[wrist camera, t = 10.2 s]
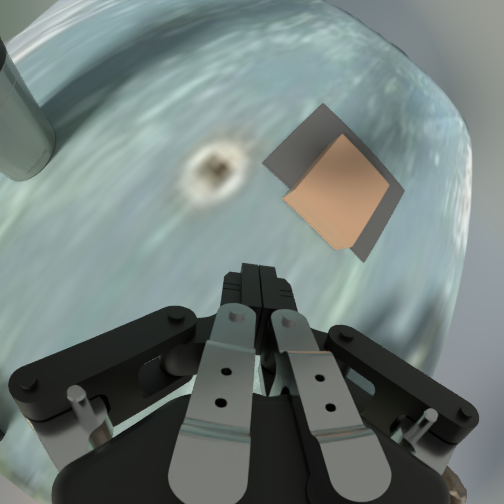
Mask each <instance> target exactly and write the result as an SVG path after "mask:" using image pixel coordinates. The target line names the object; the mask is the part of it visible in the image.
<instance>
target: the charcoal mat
mask: <svg viewBox="0 0 504 504" xmlns="http://www.w3.org/2000/svg"><path fill="white" fill-rule="evenodd" d="M341 134H343V135H344V136H345V137H346V138H347V139H348V140H349V141H350V142H351V143H352V144H353V145H354V146H355V147H356V148H357V149H358V150H359V151H360V152H361V153H362V154H363V155H364V156H365V158H366V159H367V160H368V161H369V162H370V163H371V164H372V165H373V166H374V167H375V169H376V170H377V171H378V172H379V173H380V174H381V175H382V177H383V178H384V179H385V180H386V181H387V182H388V184H389V187H388V189H387V190H386V192H385V194H384V196H383V197H382V199H381V201H380V202H379V204H378V206H377V207H376V209H375V211H374V212H373V214H372V216H371V217H370V219H369V221H368V222H367V224H366V226H365V227H364V229H363V230H362V232H361V234H360V235H359V237H358V238H357V240H356V242H355V243H354V245H353V246H352V247H349V248H350V249H351V250H352V251H353V252H354V253H355V254H356V256H357V257H358V258H359V259H360V260H361V261H362V262H363V263H364V262H365V260H366V259H367V257H368V255H369V254H370V252H371V250H372V249H373V247H374V245H375V244H376V242H377V240H378V239H379V237H380V235H381V233H382V232H383V230H384V228H385V226H386V224H387V223H388V221H389V219H390V217H391V215H392V214H393V212H394V210H395V208H396V206H397V204H398V202H399V200H400V198H401V197H402V195H403V193H404V191H405V190H404V189H403V188H402V187H401V185H400V184H399V183H398V182H397V181H396V179H395V178H394V177H393V176H392V175H391V173H390V172H389V171H388V170H387V169H386V168H385V166H384V165H383V164H382V163H381V162H380V161H379V160H378V158H377V157H376V156H375V155H374V154H373V153H372V152H371V151H370V150H369V148H368V147H367V146H366V145H365V144H364V143H363V142H362V141H361V140H360V139H359V138H358V137H357V136H356V135H355V134H354V133H353V132H352V131H351V130H350V129H349V128H348V127H347V126H346V125H345V124H344V123H343V122H342V121H341V120H340V119H339V118H338V117H337V116H336V115H335V114H334V113H333V112H332V111H331V110H330V109H329V108H328V107H327V106H326V105H324V104H323V103H322V104H321V105H320V106H319V107H318V108H317V109H316V110H315V111H314V112H313V113H312V114H311V115H310V116H309V117H308V118H307V119H306V120H305V121H304V122H303V123H302V124H300V125H299V126H298V127H297V128H296V129H295V130H294V131H293V132H292V133H291V134H290V135H289V136H288V137H287V138H286V139H285V140H284V141H283V142H282V143H281V144H280V145H279V146H278V147H277V148H276V149H275V150H274V151H273V152H272V153H271V154H270V155H269V156H268V157H267V158H266V159H265V160H264V162H263V163H262V164H263V165H265V166H266V167H267V168H268V169H269V170H270V171H271V172H272V173H273V174H274V175H276V176H277V177H278V178H279V179H280V180H281V181H282V182H283V183H284V184H285V185H286V186H287V187H288V188H290V189H291V187H292V186H293V185H294V184H295V183H296V182H297V180H298V179H299V178H300V177H301V176H302V175H303V173H304V172H305V171H306V170H307V169H308V168H309V166H310V165H311V164H312V163H313V162H314V161H315V159H316V158H317V157H318V156H319V155H320V154H321V152H322V151H323V150H324V149H325V148H326V147H327V146H328V144H330V143H331V142H332V141H333V140H335V139H336V138H337V137H339V136H340V135H341Z"/></svg>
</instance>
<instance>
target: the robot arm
mask: <svg viewBox="0 0 504 504" xmlns="http://www.w3.org/2000/svg"><path fill="white" fill-rule="evenodd" d="M54 146H55V133H54V130H53V128H52V126H51V124H50V123H49V121H48V120H47V118H46V117H45V115H44V113H43V112H42V110H41V109H40V107H39V105H38V104H37V102H36V101H35V99H34V97H33V96H32V94H31V92H30V91H29V89H28V87H27V86H26V84H25V82H24V80H23V79H22V77H21V75H20V73H19V72H18V70H17V68H16V66H15V65H14V63H13V61H12V59H11V57H10V55H9V54H8V52H7V50H6V47H5V46H4V44H3V42H2V40H1V38H0V172H2V173H3V174H4V175H6V176H7V177H9V178H10V179H11V180H14V181H24V180H27V179H29V178H32V177H33V176H35V175H36V174H37V173H39V172H40V171H41V170H42V169H43V168H44V166H45V165H46V164H47V162H48V161H49V159H50V157H51V155H52V152H53V150H54ZM255 355H260V363H259V367H258V373H259V380H260V386H261V392H262V395H260V394H256V393H253V380H254V366H255ZM158 356H159V357H158ZM156 357H157V358H156ZM154 358H155V359H154ZM152 359H153V360H152ZM151 360H152V361H151ZM149 361H150V362H149ZM147 362H148V363H147ZM145 363H146V364H145ZM351 368H352V369H353V370H355V371H356V372H357V373H359V374H360V375H362V376H363V377H365V378H366V379H367V380H369V381H370V382H372V383H373V385H374V387H375V394H374V395H373V396H372V395H370V394H369V393H367V392H366V391H364V390H363V389H362V388H360V387H359V386H358V385H356V384H355V383H353V382H352V381H351V380H349V379H348V378H347V377H346V376H347V375H348V373H349V371H350V369H351ZM196 374H197V376H196V380H195V383H194V387H193V391H192V394H188V395H184V396H180V397H178V398H175V399H173V400H171V401H169V402H167V403H166V404H164V405H163V406H161V407H160V408H158V409H157V410H155V411H154V412H152V413H151V414H149V415H148V416H146V417H145V418H143V419H142V420H140V421H139V422H137V423H136V424H134V425H132V426H131V427H129V428H128V429H126V430H125V431H123V432H121V433H120V434H118V435H117V436H115V437H113V438H112V436H113V432H114V431H113V427H114V426H116V425H118V424H120V423H122V422H123V421H125V420H127V419H129V418H130V417H132V416H134V415H135V414H137V413H139V412H141V411H142V410H144V409H146V408H147V407H149V406H151V405H152V404H154V403H155V402H157V401H159V400H160V399H162V398H164V397H165V396H167V395H168V394H170V393H172V392H173V391H175V390H176V389H178V388H180V387H181V386H183V385H184V384H186V383H187V382H189V381H190V380H191V379H192V377H193V375H196ZM8 387H9V391H10V393H11V395H12V397H13V398H14V400H15V402H16V403H17V405H18V407H19V409H20V412H21V413H22V415H23V416H24V418H25V419H26V421H27V422H28V424H29V425H30V426H31V428H32V429H33V431H34V432H35V433H36V434H37V435H38V437H39V439H40V441H41V443H42V445H43V446H44V448H45V450H46V452H47V453H48V455H49V457H50V458H51V460H52V462H53V463H54V465H55V467H56V468H57V470H58V471H59V474H58V475H57V477H56V479H55V481H54V484H53V487H52V504H450V491H449V488H448V485H447V483H446V481H445V479H444V478H443V477H442V474H443V472H444V470H445V468H446V466H447V464H448V462H449V460H450V458H451V456H452V454H453V452H454V449H455V447H456V446H457V445H458V444H459V443H460V442H461V441H462V440H463V439H464V438H465V437H466V436H467V435H468V434H469V433H470V432H471V431H472V430H473V429H474V428H475V427H476V426H477V424H478V422H479V414H478V412H477V410H476V408H475V407H474V406H473V405H472V404H471V403H469V402H468V401H466V400H465V399H463V398H461V397H460V396H458V395H457V394H455V393H454V392H452V391H450V390H449V389H447V388H446V387H444V386H443V385H441V384H439V383H438V382H436V381H435V380H433V379H432V378H430V377H429V376H427V375H425V374H424V373H422V372H421V371H419V370H418V369H416V368H414V367H413V366H411V365H410V364H408V363H407V362H405V361H404V360H402V359H400V358H399V357H397V356H396V355H394V354H393V353H391V352H390V351H388V350H386V349H385V348H383V347H382V346H380V345H379V344H377V343H376V342H374V341H373V340H371V339H369V338H368V337H366V336H365V335H363V334H362V333H360V332H359V331H357V330H355V329H354V328H352V327H349V326H346V325H335V326H332V327H331V328H330V329H329V332H328V333H325V332H321V331H318V330H315V329H312V328H310V326H309V323H308V321H307V319H306V318H305V317H304V316H303V315H302V314H300V313H299V312H298V310H297V307H296V303H295V299H294V296H293V292H292V288H291V285H290V284H289V283H288V282H287V281H286V280H285V279H282V278H277V275H276V271H275V267H270V266H262V265H259V266H258V265H255V264H247V263H242V266H241V272H240V273H236V272H229V273H228V274H226V275H225V276H224V282H223V290H222V297H221V304H220V307H219V309H218V311H217V313H216V314H214V315H212V316H210V317H205V318H197V317H196V315H195V313H194V312H193V311H191V310H190V309H188V308H186V307H182V306H168V307H165V308H162V309H160V310H158V311H155V312H153V313H151V314H148V315H146V316H144V317H141V318H139V319H137V320H134V321H132V322H129V323H127V324H125V325H122V326H120V327H118V328H115V329H113V330H111V331H108V332H106V333H103V334H101V335H99V336H96V337H94V338H91V339H89V340H87V341H84V342H82V343H79V344H77V345H74V346H72V347H70V348H67V349H65V350H62V351H60V352H57V353H55V354H52V355H50V356H47V357H45V358H43V359H40V360H38V361H35V362H33V363H30V364H28V365H25V366H23V367H20V368H19V369H17V370H16V371H15V372H14V373H13V374H12V375H11V377H10V379H9V383H8Z"/></svg>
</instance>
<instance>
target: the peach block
mask: <svg viewBox="0 0 504 504" xmlns="http://www.w3.org/2000/svg"><path fill="white" fill-rule="evenodd" d="M388 187H389V184H388V182H387V181H386V180H385V179H384V178H383V177H382V175H381V174H380V173H379V172H378V171H377V170H376V169H375V167H374V166H373V165H372V164H371V163H370V162H369V161H368V160H367V159H366V158H365V156H364V155H363V154H362V153H361V152H360V151H359V150H358V149H357V148H356V147H355V146H354V145H353V144H352V143H351V142H350V141H349V140H348V139H347V138H346V137H345V136H344V135H343V134H341V135H340V136H339V137H337V138H336V139H335V140H333V141H332V142H331V143H330V144H328V146H327V147H326V148H325V149H324V150H323V151H322V152H321V154H320V155H319V156H318V157H317V158H316V159H315V161H314V162H313V163H312V164H311V165H310V166H309V168H308V169H307V170H306V171H305V172H304V173H303V175H302V176H301V177H300V178H299V179H298V180H297V182H296V183H295V184H294V185H293V186H292V187H291V189H290V190H289V191H288V192H287V193H286V195H285V196H284V197H283V198H282V199H283V200H284V201H285V202H287V203H288V204H289V205H290V206H291V207H292V208H293V209H294V210H295V211H296V212H297V213H298V214H299V215H300V216H301V217H302V218H303V219H304V220H305V221H306V222H307V223H308V224H310V225H311V226H312V227H313V228H314V229H315V230H316V231H317V232H318V233H319V234H320V235H321V236H322V237H323V238H324V239H325V240H326V241H327V242H328V243H329V244H330V245H331V246H332V247H333V248H334V249H335V250H338V249H343V248H348V247H352V246H353V245H354V243H355V242H356V240H357V238H358V237H359V235H360V234H361V232H362V230H363V229H364V227H365V226H366V224H367V222H368V221H369V219H370V217H371V216H372V214H373V212H374V211H375V209H376V207H377V206H378V204H379V202H380V201H381V199H382V197H383V196H384V194H385V192H386V190H387V189H388Z"/></svg>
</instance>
